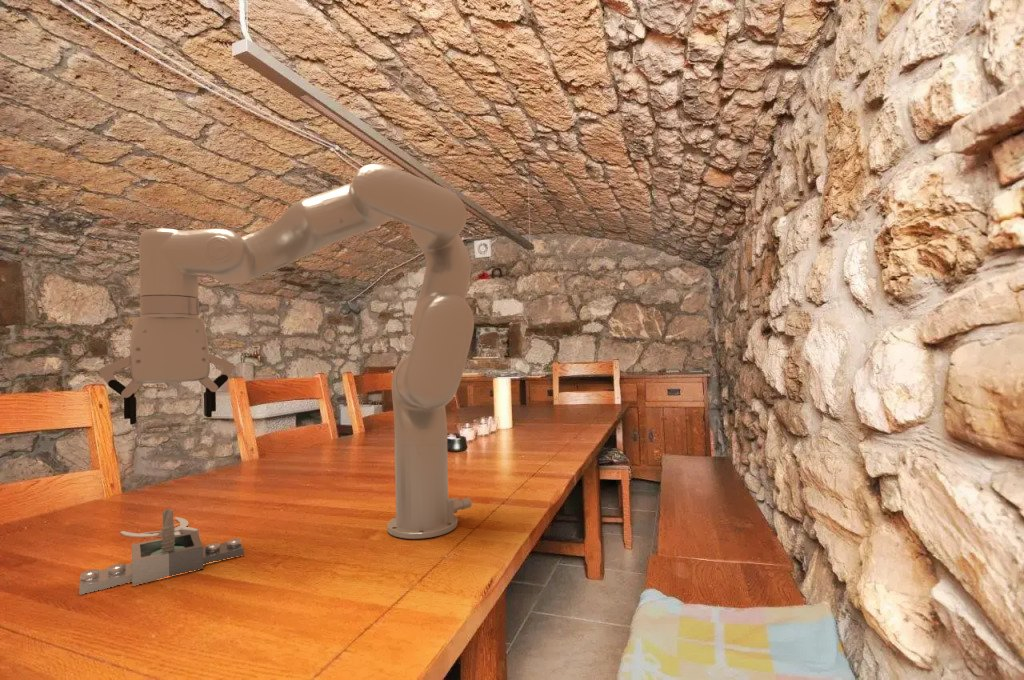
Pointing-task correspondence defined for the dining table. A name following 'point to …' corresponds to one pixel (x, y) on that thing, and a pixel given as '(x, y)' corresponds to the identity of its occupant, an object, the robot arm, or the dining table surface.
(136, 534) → the pliers
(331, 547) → the dining table surface
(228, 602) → the dining table surface
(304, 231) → the robot arm
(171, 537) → the screw
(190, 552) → the riveted metal bracket
